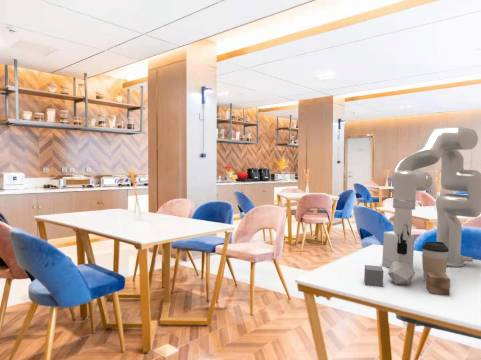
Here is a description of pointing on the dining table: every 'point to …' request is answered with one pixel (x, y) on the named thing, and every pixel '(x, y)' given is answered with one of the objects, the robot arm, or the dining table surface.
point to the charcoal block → (373, 276)
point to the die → (401, 273)
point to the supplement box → (391, 250)
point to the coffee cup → (434, 258)
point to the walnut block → (438, 284)
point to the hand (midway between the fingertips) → (401, 253)
